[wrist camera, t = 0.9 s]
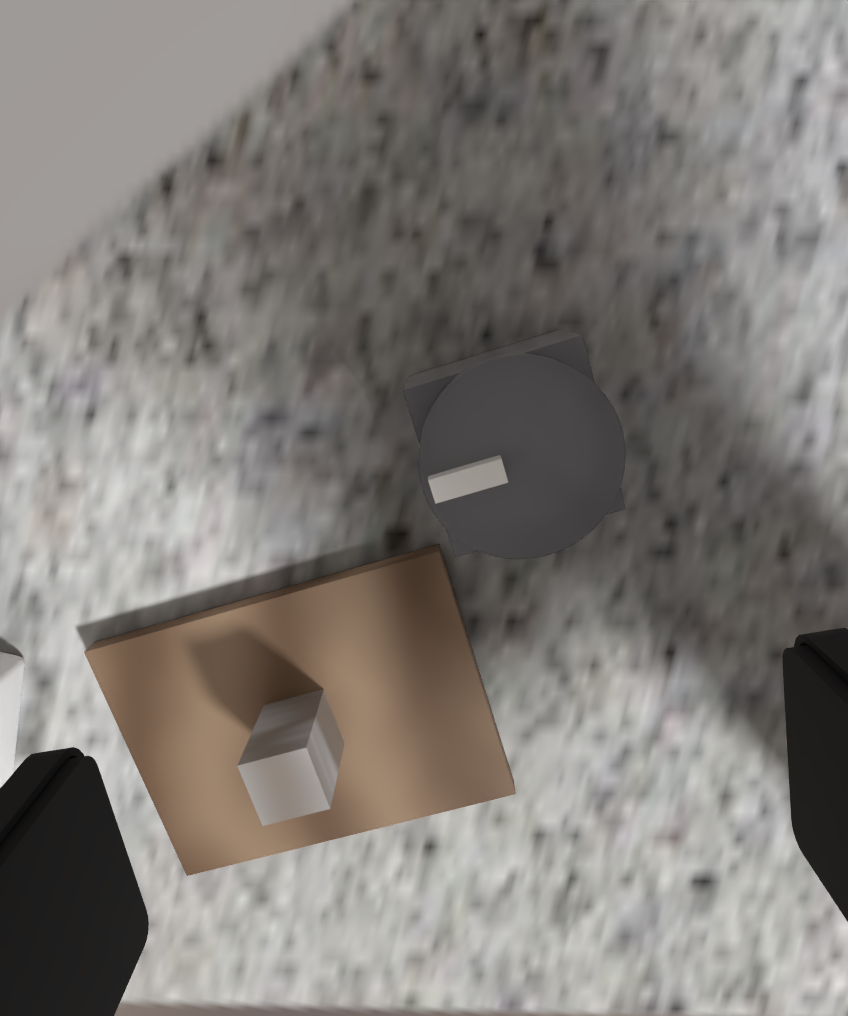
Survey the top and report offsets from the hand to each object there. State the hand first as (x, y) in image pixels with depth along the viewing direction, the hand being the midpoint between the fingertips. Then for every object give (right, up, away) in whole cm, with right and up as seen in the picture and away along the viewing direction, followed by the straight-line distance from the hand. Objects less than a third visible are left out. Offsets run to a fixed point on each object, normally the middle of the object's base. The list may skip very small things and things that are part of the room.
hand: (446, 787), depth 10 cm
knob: (+3, +7, +21) cm, 22 cm away
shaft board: (-6, -6, +24) cm, 26 cm away
